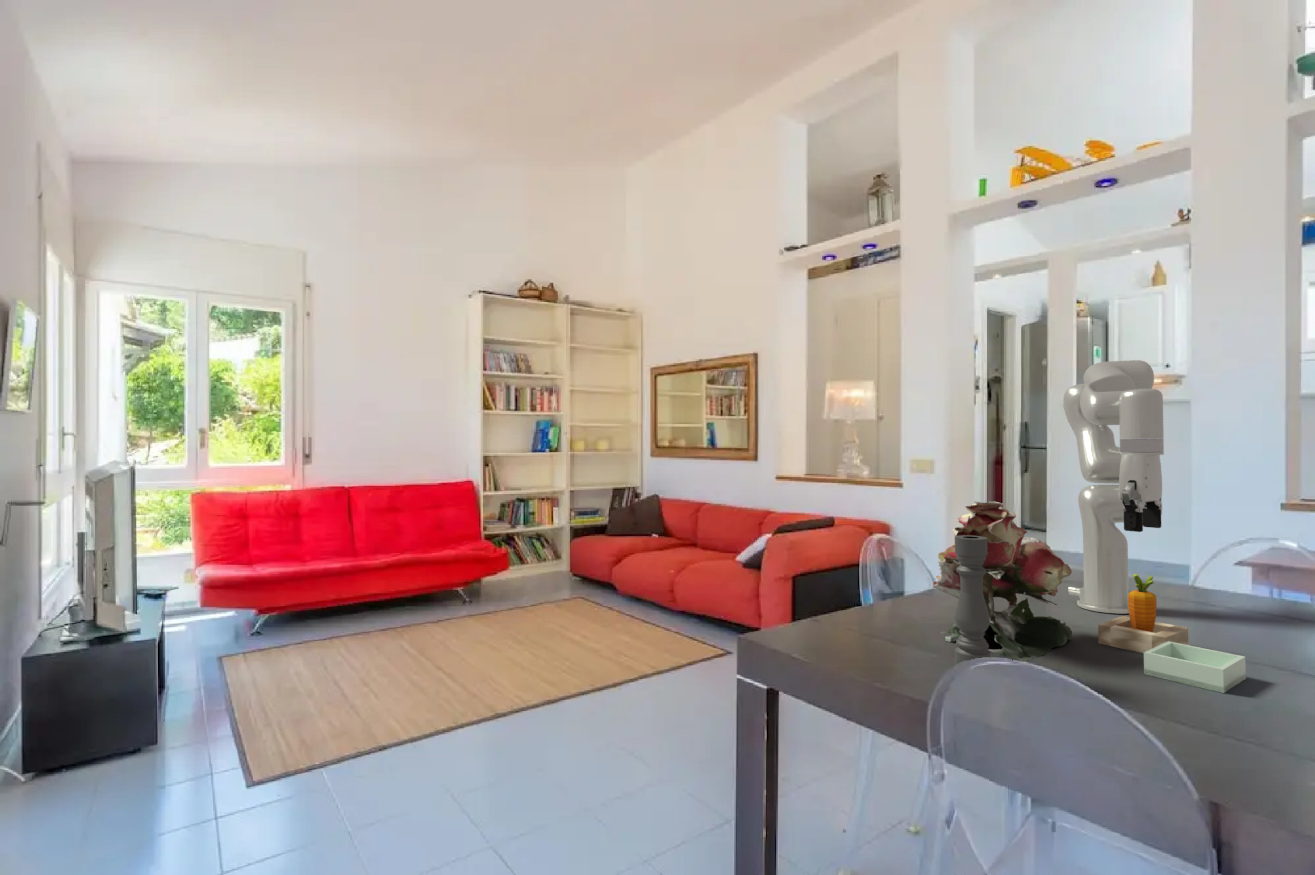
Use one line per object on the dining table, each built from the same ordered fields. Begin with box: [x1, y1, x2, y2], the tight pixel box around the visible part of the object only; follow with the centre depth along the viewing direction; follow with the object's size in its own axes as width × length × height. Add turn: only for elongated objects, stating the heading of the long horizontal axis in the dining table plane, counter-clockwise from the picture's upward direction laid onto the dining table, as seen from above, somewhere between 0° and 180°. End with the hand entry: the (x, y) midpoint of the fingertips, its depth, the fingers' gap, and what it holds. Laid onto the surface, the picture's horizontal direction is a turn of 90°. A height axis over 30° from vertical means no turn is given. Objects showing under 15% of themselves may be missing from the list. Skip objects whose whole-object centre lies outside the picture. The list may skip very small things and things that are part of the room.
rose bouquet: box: [932, 501, 1073, 661], centre depth 148 cm, size 26×29×30 cm
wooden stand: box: [1097, 615, 1189, 654], centre depth 140 cm, size 12×12×4 cm
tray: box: [1143, 641, 1247, 694], centre depth 122 cm, size 12×12×4 cm
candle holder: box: [954, 535, 991, 666], centre depth 127 cm, size 6×6×25 cm
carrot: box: [1128, 573, 1158, 632], centre depth 140 cm, size 5×5×15 cm
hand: (1142, 529), depth 140 cm, fingers open, 9 cm apart
